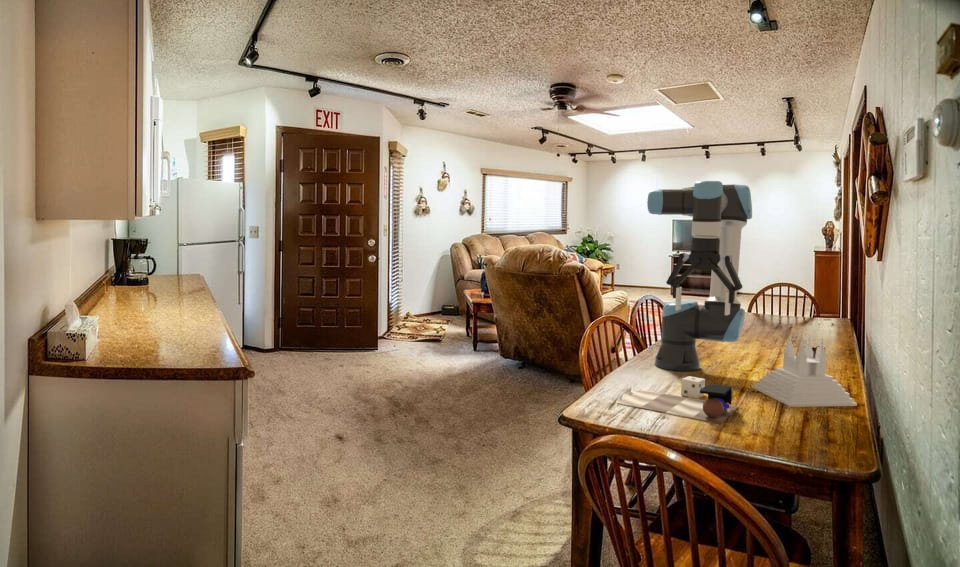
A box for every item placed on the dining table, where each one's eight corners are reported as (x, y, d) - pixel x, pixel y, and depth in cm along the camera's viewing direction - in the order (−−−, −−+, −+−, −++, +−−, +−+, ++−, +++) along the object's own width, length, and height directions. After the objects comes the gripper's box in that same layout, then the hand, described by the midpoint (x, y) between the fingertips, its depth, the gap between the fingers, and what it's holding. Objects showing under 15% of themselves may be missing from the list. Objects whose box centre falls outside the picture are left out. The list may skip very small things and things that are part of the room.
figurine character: (707, 408, 174) (696, 416, 161) (709, 381, 174) (699, 387, 161) (733, 412, 171) (724, 421, 158) (735, 384, 171) (726, 391, 158)
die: (688, 392, 187) (688, 375, 186) (704, 395, 184) (705, 378, 183) (680, 395, 183) (681, 378, 183) (697, 398, 180) (698, 381, 179)
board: (640, 390, 188) (640, 389, 188) (738, 407, 171) (738, 406, 171) (616, 403, 173) (616, 402, 173) (720, 424, 157) (720, 423, 157)
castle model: (789, 407, 174) (794, 343, 172) (752, 388, 193) (755, 330, 192) (856, 406, 176) (861, 342, 174) (812, 387, 195) (816, 330, 193)
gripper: (756, 237, 169) (751, 314, 172) (665, 235, 183) (662, 306, 186) (750, 239, 163) (746, 318, 165) (657, 236, 177) (654, 309, 180)
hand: (702, 312), depth 176 cm, fingers open, 13 cm apart
